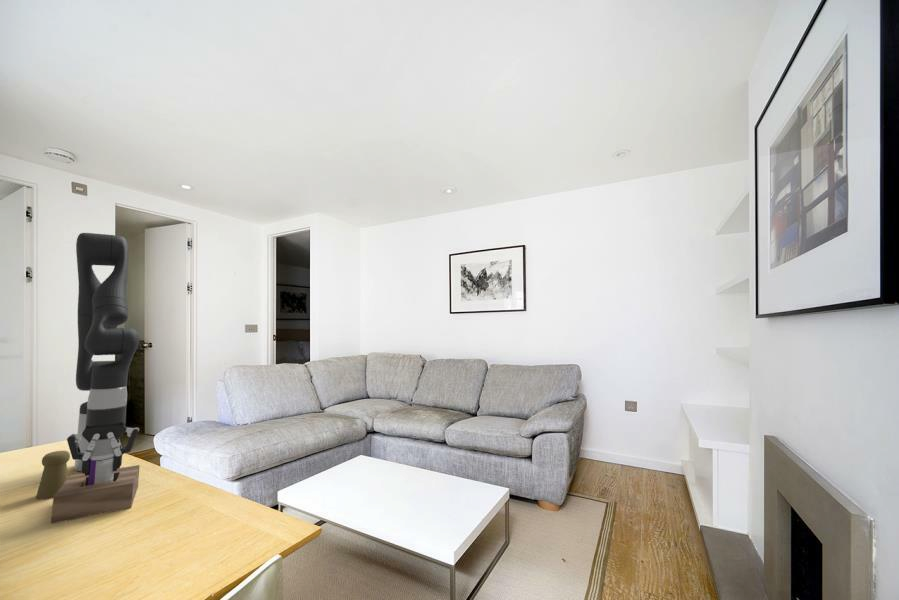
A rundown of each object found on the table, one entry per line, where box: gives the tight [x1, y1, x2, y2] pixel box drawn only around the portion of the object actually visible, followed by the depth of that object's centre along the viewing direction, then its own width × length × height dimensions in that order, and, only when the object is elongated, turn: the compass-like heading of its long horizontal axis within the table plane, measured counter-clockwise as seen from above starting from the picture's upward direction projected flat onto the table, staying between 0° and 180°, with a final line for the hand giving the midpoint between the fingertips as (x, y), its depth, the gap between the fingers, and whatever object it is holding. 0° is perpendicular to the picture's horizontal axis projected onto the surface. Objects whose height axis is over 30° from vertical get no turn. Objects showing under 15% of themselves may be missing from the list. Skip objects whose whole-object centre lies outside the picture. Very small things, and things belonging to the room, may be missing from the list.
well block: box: [50, 464, 141, 524], centre depth 94 cm, size 14×14×6 cm
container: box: [88, 438, 115, 485], centre depth 94 cm, size 5×5×15 cm
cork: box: [35, 450, 71, 500], centre depth 99 cm, size 6×6×11 cm
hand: (101, 471), depth 94 cm, fingers closed on container, 4 cm apart
